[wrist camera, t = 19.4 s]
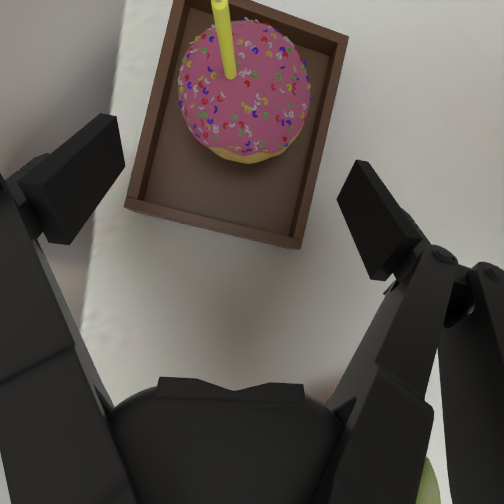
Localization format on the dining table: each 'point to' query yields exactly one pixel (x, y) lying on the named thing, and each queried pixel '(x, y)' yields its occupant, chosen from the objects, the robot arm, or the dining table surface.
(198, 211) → the tray
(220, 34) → the cupcake
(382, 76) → the dining table surface
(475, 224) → the dining table surface
